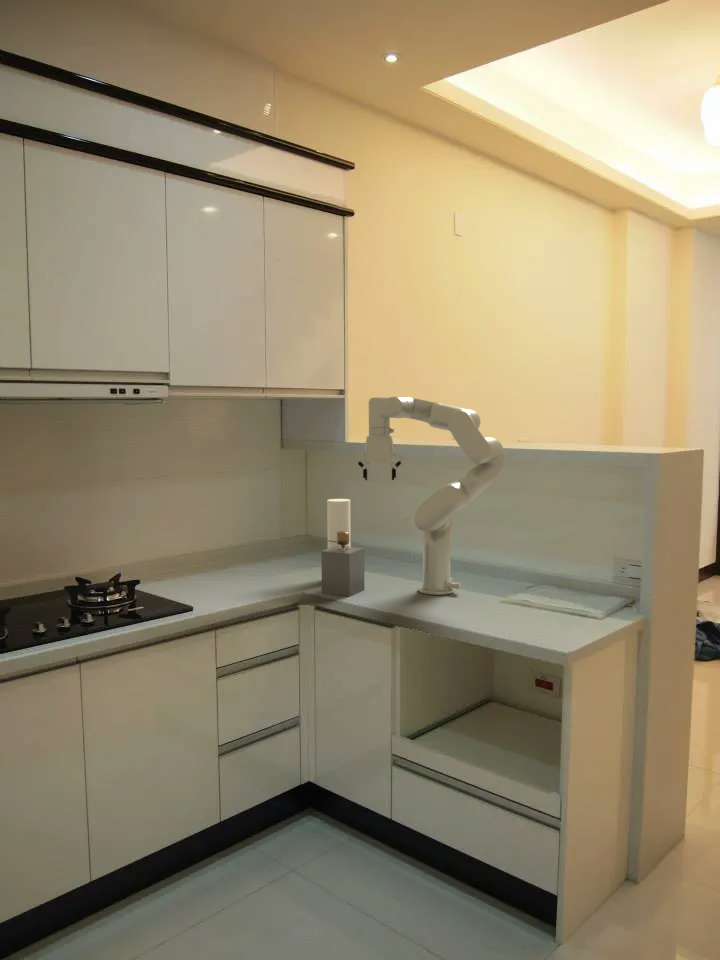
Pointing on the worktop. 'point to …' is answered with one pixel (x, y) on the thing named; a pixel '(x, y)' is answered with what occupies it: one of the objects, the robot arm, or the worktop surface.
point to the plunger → (342, 539)
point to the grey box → (342, 571)
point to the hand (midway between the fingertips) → (379, 480)
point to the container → (337, 520)
